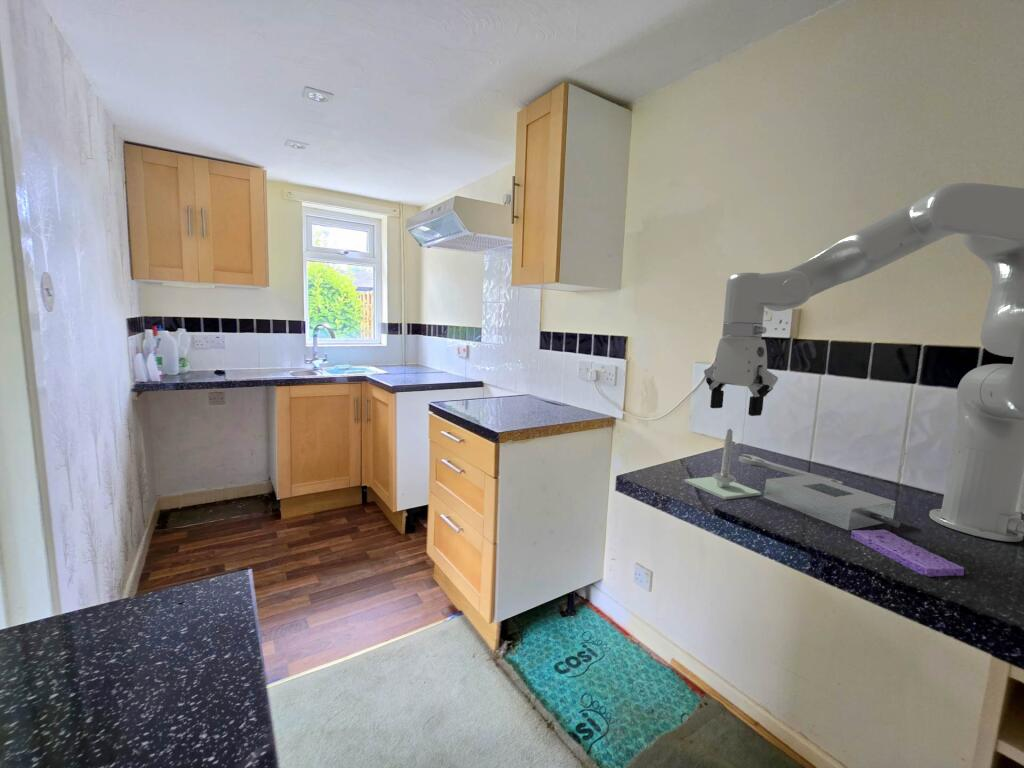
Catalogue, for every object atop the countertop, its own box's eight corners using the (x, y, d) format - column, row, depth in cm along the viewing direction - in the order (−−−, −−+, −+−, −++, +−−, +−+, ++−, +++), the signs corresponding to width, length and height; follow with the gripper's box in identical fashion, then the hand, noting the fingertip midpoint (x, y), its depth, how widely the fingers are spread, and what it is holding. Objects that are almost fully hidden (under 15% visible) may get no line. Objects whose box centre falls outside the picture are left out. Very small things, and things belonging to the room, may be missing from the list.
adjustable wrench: (844, 488, 107) (845, 481, 107) (830, 491, 104) (831, 484, 104) (746, 458, 129) (747, 453, 129) (732, 460, 126) (733, 454, 125)
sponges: (883, 539, 79) (885, 529, 78) (964, 579, 66) (967, 567, 66) (848, 539, 78) (850, 529, 77) (925, 580, 65) (927, 567, 65)
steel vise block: (917, 530, 83) (921, 509, 82) (873, 540, 77) (877, 518, 76) (806, 491, 101) (809, 474, 101) (763, 497, 95) (766, 479, 95)
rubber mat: (760, 494, 97) (761, 492, 97) (724, 499, 92) (725, 496, 92) (718, 478, 107) (718, 476, 106) (684, 481, 102) (684, 479, 102)
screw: (721, 481, 102) (740, 488, 98) (706, 483, 100) (724, 490, 96) (728, 426, 101) (747, 430, 96) (713, 426, 99) (732, 431, 94)
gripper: (792, 333, 89) (784, 418, 91) (720, 333, 105) (714, 405, 106) (767, 332, 86) (759, 419, 88) (697, 331, 102) (691, 405, 103)
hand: (734, 411), depth 97 cm, fingers open, 9 cm apart
